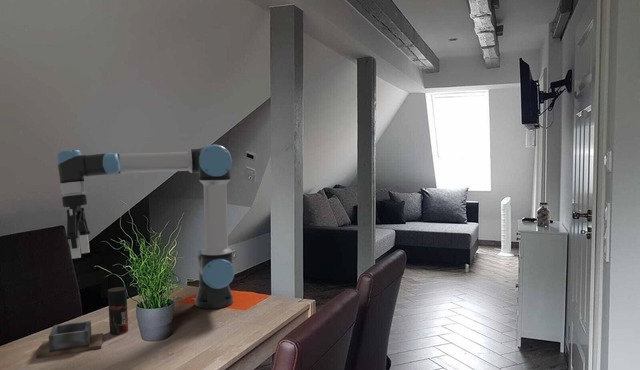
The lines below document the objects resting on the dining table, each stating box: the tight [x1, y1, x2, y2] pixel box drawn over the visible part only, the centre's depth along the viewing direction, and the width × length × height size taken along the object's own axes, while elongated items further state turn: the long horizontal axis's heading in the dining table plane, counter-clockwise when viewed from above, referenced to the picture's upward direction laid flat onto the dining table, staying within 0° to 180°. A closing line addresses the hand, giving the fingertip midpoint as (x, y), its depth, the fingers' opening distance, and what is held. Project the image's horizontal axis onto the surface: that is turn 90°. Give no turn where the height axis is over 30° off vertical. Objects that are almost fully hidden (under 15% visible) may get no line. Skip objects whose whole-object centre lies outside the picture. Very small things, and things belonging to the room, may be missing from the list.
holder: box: [35, 320, 104, 359], centre depth 156 cm, size 18×12×6 cm, turn 111°
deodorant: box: [107, 286, 129, 336], centre depth 168 cm, size 6×6×15 cm
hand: (81, 255), depth 169 cm, fingers open, 13 cm apart
